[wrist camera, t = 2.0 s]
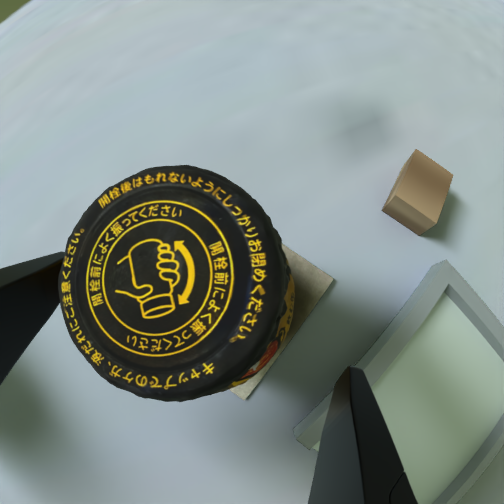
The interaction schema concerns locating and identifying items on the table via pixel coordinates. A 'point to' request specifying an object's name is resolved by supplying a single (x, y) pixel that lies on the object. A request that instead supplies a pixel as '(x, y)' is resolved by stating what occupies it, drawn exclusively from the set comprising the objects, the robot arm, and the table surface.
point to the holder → (436, 387)
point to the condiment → (182, 286)
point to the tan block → (418, 193)
